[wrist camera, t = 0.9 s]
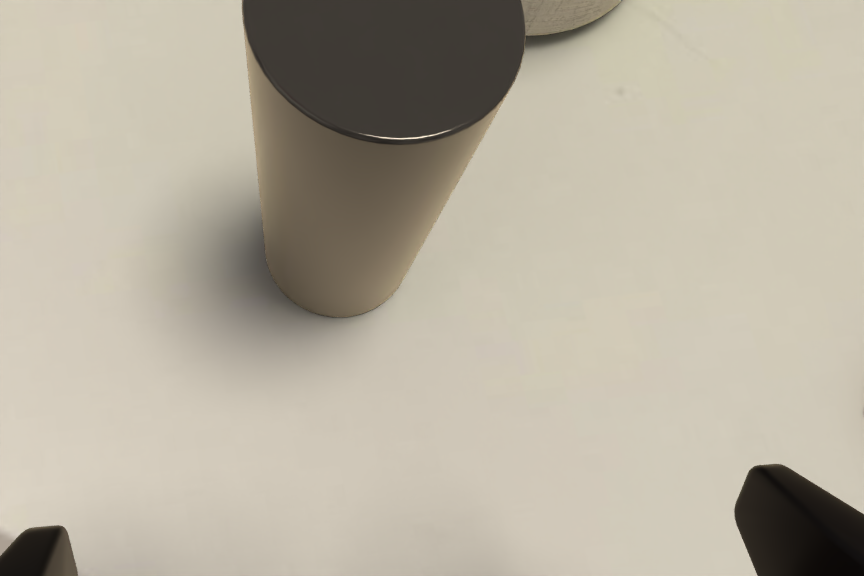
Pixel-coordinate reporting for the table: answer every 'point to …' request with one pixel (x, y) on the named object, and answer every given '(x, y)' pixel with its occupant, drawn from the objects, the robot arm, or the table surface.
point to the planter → (562, 14)
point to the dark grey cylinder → (367, 131)
